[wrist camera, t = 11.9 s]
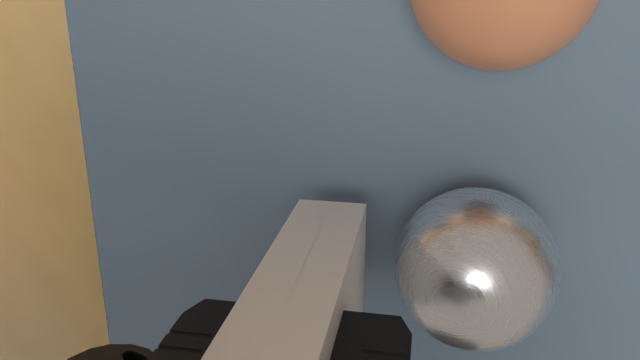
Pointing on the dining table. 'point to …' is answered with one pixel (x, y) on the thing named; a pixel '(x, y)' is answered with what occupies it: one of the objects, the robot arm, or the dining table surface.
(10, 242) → the dining table surface
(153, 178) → the grey flat board
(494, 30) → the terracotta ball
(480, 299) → the steel ball
